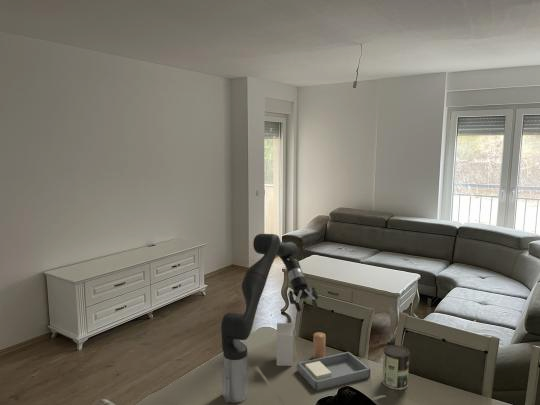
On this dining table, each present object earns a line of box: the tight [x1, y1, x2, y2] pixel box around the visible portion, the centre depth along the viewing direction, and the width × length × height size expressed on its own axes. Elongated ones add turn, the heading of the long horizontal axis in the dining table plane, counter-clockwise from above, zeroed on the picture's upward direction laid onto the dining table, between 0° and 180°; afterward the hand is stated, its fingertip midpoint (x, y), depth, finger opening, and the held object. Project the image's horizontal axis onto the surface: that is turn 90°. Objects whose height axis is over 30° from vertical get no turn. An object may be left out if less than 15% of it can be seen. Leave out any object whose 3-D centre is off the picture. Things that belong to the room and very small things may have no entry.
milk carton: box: [276, 322, 294, 367], centre depth 184 cm, size 7×7×19 cm
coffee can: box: [382, 344, 411, 390], centre depth 170 cm, size 10×10×14 cm
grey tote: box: [297, 351, 371, 392], centre depth 175 cm, size 26×16×4 cm, turn 113°
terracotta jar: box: [312, 331, 327, 360], centre depth 188 cm, size 6×6×12 cm
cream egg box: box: [305, 361, 332, 381], centre depth 172 cm, size 7×10×4 cm
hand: (307, 309), depth 197 cm, fingers open, 8 cm apart
